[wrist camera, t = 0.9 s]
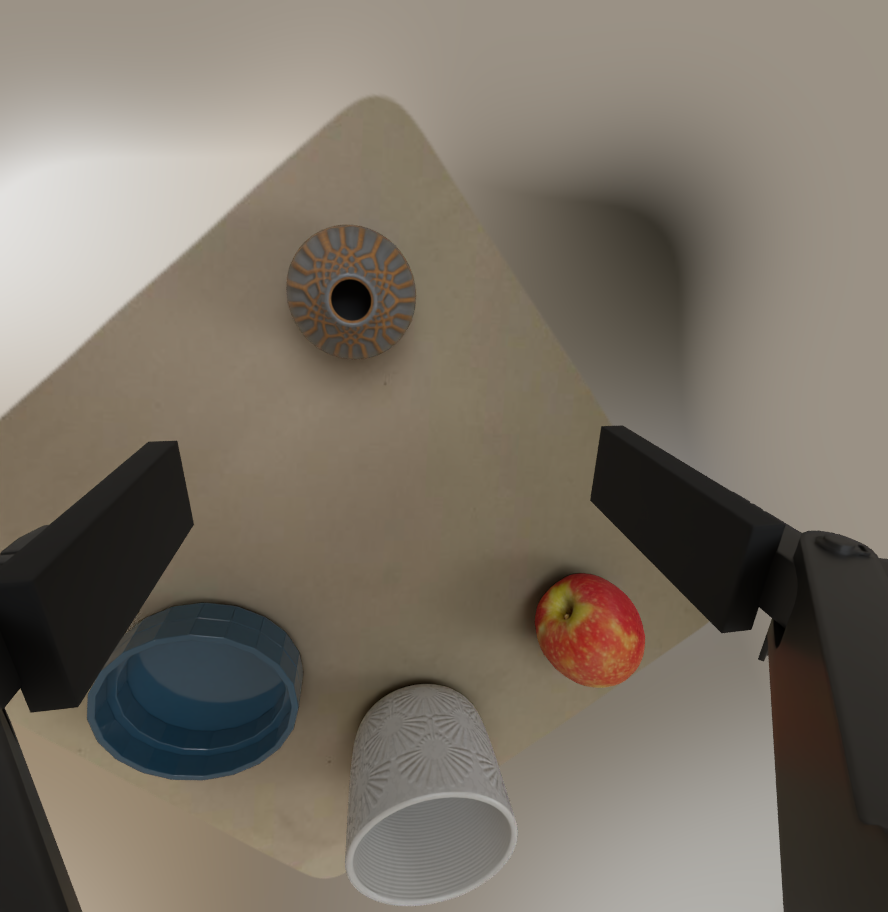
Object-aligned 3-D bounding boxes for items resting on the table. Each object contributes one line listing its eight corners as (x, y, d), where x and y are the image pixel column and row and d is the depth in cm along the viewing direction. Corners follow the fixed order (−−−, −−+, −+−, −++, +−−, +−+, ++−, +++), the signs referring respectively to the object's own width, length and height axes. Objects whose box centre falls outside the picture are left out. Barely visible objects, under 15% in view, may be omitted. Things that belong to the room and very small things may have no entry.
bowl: (118, 587, 34) (89, 625, 30) (317, 609, 37) (312, 645, 34) (110, 729, 38) (84, 778, 35) (288, 737, 42) (281, 782, 38)
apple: (577, 541, 39) (627, 604, 32) (630, 594, 42) (687, 663, 35) (506, 602, 40) (538, 676, 33) (563, 650, 43) (604, 728, 36)
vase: (333, 367, 31) (324, 401, 23) (272, 263, 28) (237, 262, 20) (427, 317, 31) (451, 334, 23) (375, 208, 28) (381, 184, 20)
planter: (326, 699, 41) (315, 838, 31) (460, 647, 41) (492, 769, 31) (378, 783, 46) (383, 927, 36) (497, 737, 46) (536, 866, 36)
